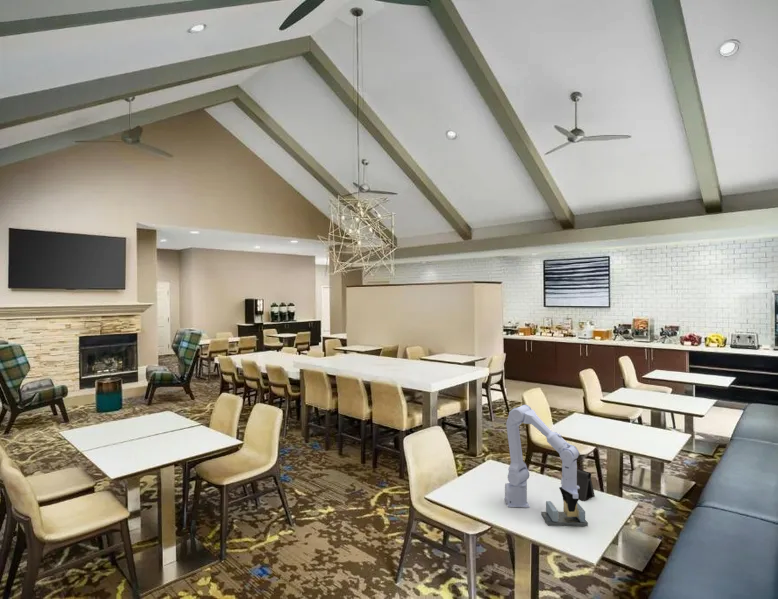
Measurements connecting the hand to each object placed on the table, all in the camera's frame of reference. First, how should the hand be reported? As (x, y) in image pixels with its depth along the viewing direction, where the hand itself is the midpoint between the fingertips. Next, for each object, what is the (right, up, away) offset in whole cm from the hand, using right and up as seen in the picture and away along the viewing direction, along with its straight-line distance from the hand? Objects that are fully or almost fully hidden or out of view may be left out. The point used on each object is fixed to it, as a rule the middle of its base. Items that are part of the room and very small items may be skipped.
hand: (569, 508), depth 189 cm
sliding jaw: (-7, -3, 0) cm, 8 cm away
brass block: (0, -2, 0) cm, 2 cm away
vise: (-2, -5, 0) cm, 6 cm away
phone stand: (+15, -5, +23) cm, 28 cm away
